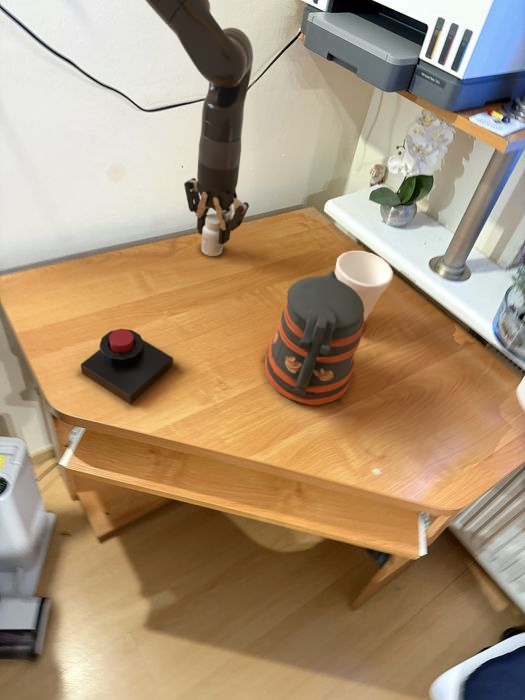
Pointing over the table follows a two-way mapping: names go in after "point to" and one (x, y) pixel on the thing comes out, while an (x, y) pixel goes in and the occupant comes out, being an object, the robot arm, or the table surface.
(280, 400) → the table surface
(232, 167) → the robot arm
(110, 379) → the push button housing
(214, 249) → the pill bottle
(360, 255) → the cup
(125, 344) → the lid button
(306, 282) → the beer stein
